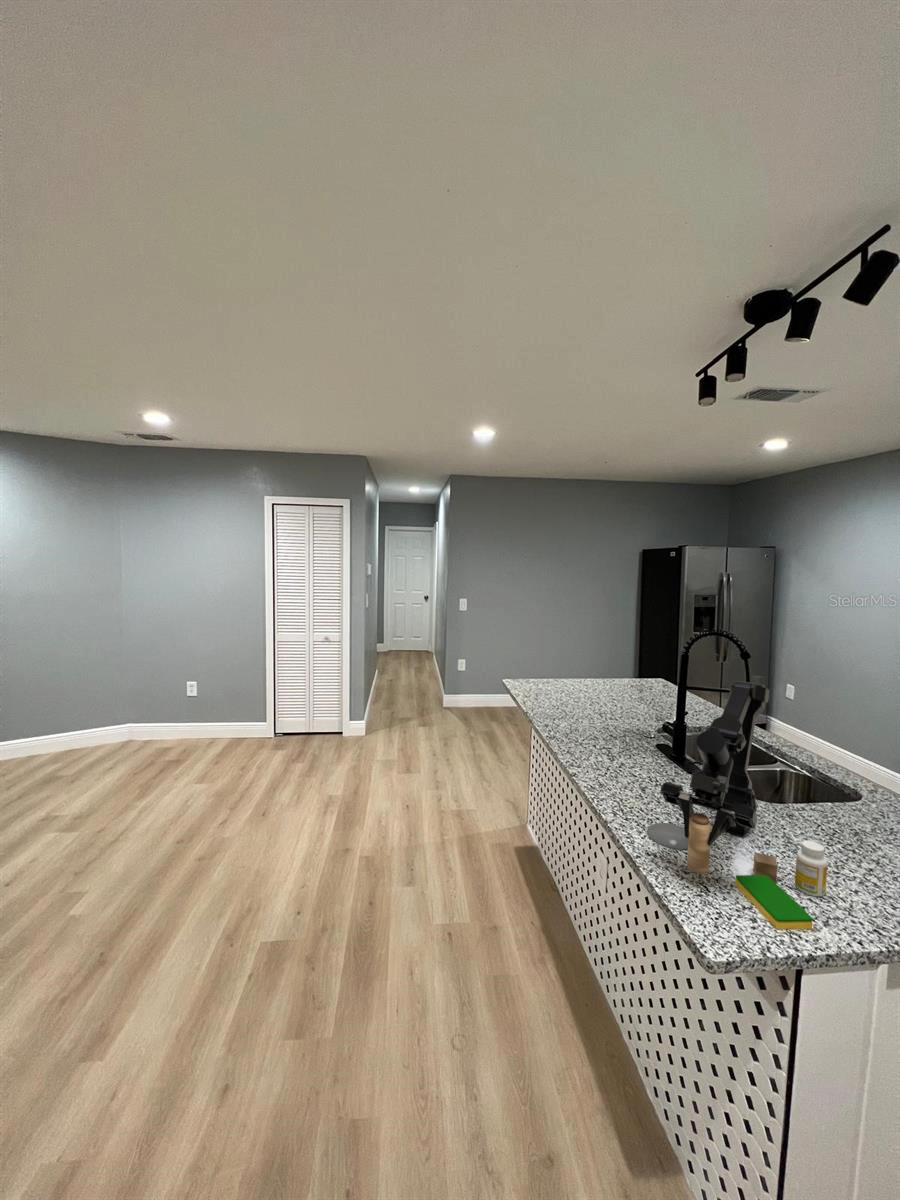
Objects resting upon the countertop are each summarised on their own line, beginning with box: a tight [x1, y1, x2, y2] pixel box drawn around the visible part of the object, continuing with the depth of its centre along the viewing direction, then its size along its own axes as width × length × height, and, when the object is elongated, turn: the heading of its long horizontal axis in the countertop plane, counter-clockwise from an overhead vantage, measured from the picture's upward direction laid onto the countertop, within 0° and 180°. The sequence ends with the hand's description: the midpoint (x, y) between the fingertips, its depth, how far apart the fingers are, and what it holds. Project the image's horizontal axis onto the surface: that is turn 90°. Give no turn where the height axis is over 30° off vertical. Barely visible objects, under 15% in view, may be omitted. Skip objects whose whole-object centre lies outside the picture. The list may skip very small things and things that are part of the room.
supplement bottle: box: [794, 840, 828, 897], centre depth 110 cm, size 5×5×10 cm
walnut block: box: [753, 851, 778, 884], centre depth 115 cm, size 4×4×4 cm
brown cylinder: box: [686, 812, 712, 875], centre depth 112 cm, size 4×4×12 cm
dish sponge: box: [735, 874, 813, 930], centre depth 105 cm, size 7×14×2 cm, turn 2°
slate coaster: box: [646, 822, 689, 851], centre depth 131 cm, size 12×12×1 cm
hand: (697, 841), depth 111 cm, fingers closed on brown cylinder, 4 cm apart
